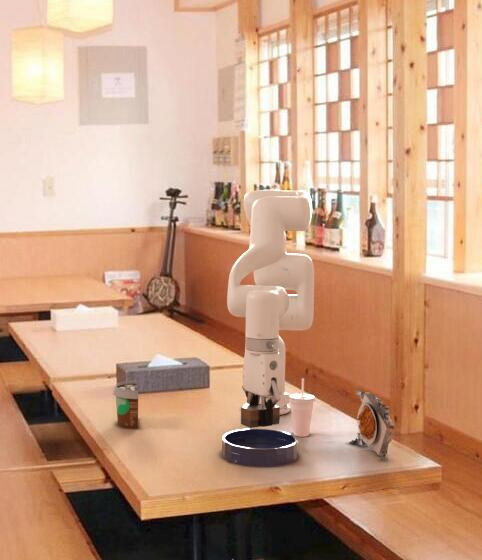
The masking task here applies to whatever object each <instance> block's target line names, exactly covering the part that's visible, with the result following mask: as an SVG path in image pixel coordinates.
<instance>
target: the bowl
mask: <svg viewBox="0 0 482 560" xmlns="http://www.w3.org/2000/svg"><path fill="white" fill-rule="evenodd" d="M298 441H299V440H298V437H297V436H295V435H294V434H292V433H289V432H286V431H282V430H279V429H271V428H242V429H235V430H231V431H229V432H226V433H224V434H223V435H222V437H221V453H222V457H223V458H224V460H226V461H228V462H230V463H233V464H237V465H241V466H248V467H257V468H259V467H260V468H263V467H264V468H265V467H266V468H267V467H269V468H270V467H280V466H284V465H285V466H286V465H288V464H291V463H293V462H295V461H296V460H297V459H298V446H299V445H298V443H299V442H298Z"/></svg>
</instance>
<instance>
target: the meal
mask: <svg viewBox="0 0 482 560" xmlns="http://www.w3.org/2000/svg"><path fill="white" fill-rule="evenodd" d="M354 392H355V393H356V395H357V396H358V397H359V399H360V402H361V405H360V406H359V409H358V412H357V417H356V418H357V420H356V424H357V429H358V432H357V433H356V435H357V437H355V439H351V441H349V442H348V444H349V445H350V444H351V445H357V446H358V445H359V446H361V447H363V448H369V449H371V450H373V451H375V452H376V454H377V455H378V456H379V457H380V456H381V461H384V460H385V459H386V455H387V454H388V452H389V451H388V449H389V445H390V443H391V442H392V440H393V439H392V437H393V434H394V433H393V432H394V431H395V425H394V424H393V423H394V422H393V421H392V418H391V416H390V411H391V410H390V406H389V405H387V404H384V401H382V399H381V398H379V397H377V396H376V395H375V394H374V393H372V392H368V391H367V392H366V391H362V390H359V389H354ZM387 425H389V426H387ZM390 429H391V431H390Z"/></svg>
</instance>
